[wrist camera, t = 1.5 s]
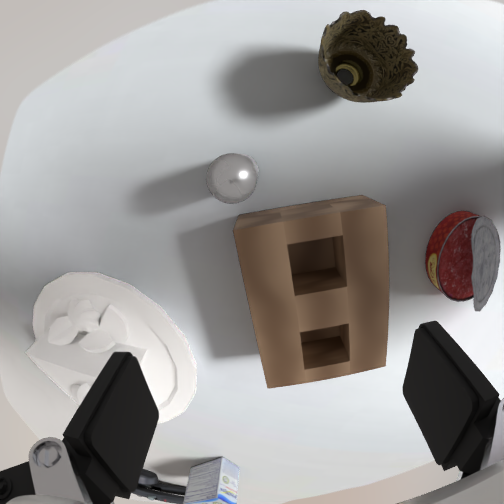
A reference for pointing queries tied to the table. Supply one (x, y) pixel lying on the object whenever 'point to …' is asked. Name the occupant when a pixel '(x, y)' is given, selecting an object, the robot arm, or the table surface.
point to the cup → (366, 58)
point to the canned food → (464, 257)
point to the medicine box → (213, 483)
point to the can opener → (158, 489)
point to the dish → (110, 339)
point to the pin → (232, 177)
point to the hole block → (317, 287)
